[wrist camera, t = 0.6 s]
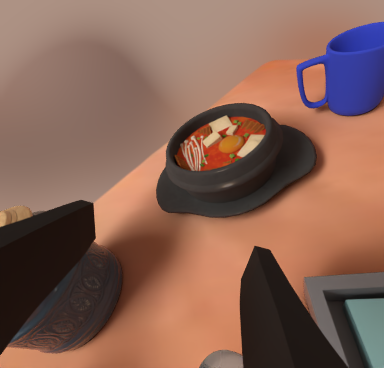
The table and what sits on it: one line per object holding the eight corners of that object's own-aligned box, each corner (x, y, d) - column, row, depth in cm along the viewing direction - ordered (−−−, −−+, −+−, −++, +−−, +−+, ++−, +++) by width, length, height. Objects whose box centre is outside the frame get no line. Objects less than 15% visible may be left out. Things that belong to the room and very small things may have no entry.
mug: (293, 107, 39) (290, 50, 32) (371, 86, 34) (388, 15, 28) (303, 133, 33) (303, 71, 27) (398, 112, 29) (426, 32, 22)
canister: (140, 260, 29) (28, 180, 17) (85, 376, 22) (-170, 377, 10) (85, 244, 36) (-25, 178, 24) (28, 330, 29) (-168, 298, 17)
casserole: (158, 243, 30) (124, 212, 24) (163, 162, 43) (142, 129, 37) (345, 196, 24) (358, 141, 19) (286, 119, 37) (284, 72, 32)
